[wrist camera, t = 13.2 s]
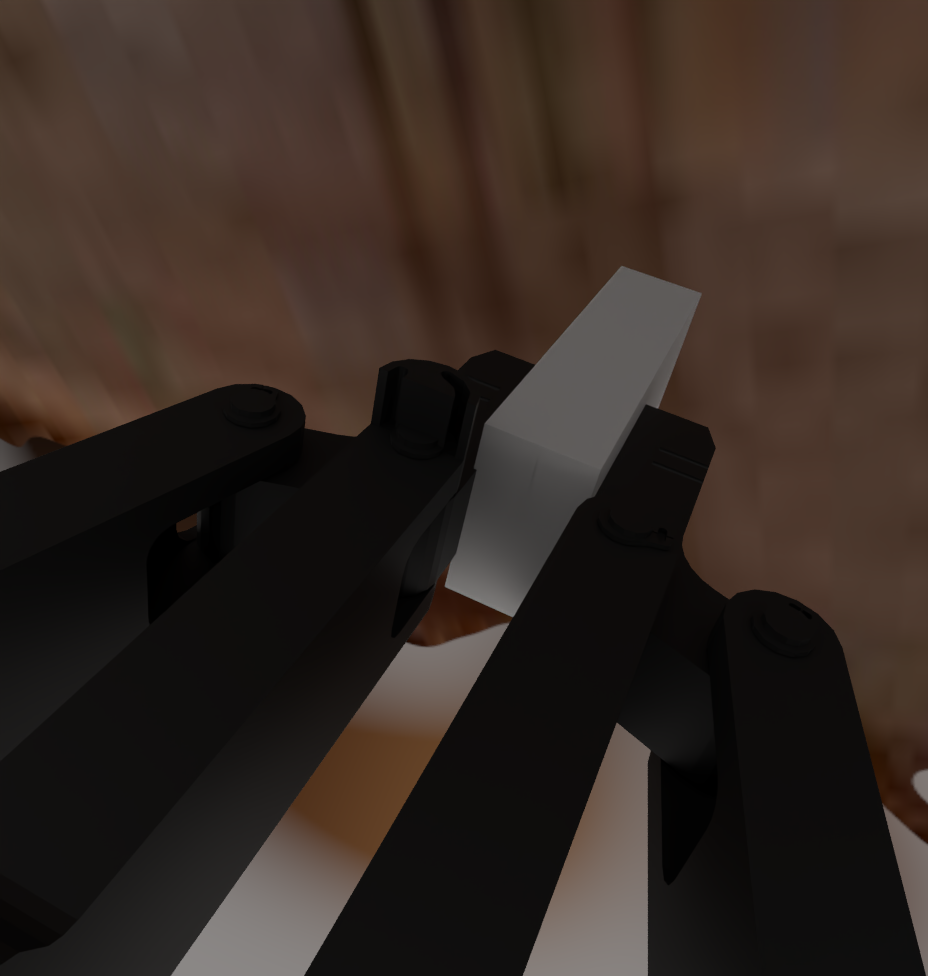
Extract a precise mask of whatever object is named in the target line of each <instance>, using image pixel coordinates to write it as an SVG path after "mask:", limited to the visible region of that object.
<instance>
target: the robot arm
mask: <svg viewBox="0 0 928 976" xmlns="http://www.w3.org/2000/svg"><path fill="white" fill-rule="evenodd" d="M701 294H702V293H699V292H696V291H693V290H690V289H687V288H684V287H682V286H679V285H676V284H673V283H670V282H667V281H664V280H661V279H658V278H655V277H652V276H650V275H647V274H644V273H641V272H638V271H635V270H632V269H629V268H626V267H623V266H621V267H620V268H619V270H618V271H617V272H616V273H615V274H614V275H613V276H612V278H611V279H610V280H609V281H608V282H607V283H606V285H605V286H604V287H603V288H602V289H601V290H600V291H599V293H598V294H597V295H596V296H595V297H594V298H593V299H592V301H591V302H590V303H589V304H588V305H587V306H586V308H585V309H584V310H583V311H582V312H581V313H580V314H579V316H578V317H577V318H576V319H575V320H574V321H573V322H572V324H571V325H570V326H569V327H568V328H567V329H566V331H565V332H564V333H563V334H562V335H561V336H560V337H559V339H558V340H557V341H556V342H555V343H554V344H553V345H552V347H551V348H550V349H549V350H548V351H547V352H546V354H545V355H544V356H543V357H542V358H541V359H540V360H539V362H538V363H537V364H536V365H534V364H531V363H529V362H526V361H524V360H521V359H518V358H516V357H513V356H510V355H508V354H505V353H502V352H500V351H497V350H494V351H490V352H487V353H484V354H481V355H478V356H474V357H471V358H470V359H469V360H468V361H467V362H466V363H465V364H464V365H463V366H462V367H461V368H460V369H459V370H456V369H454V368H452V367H450V366H447V365H443V364H439V363H436V362H432V361H426V360H414V359H408V360H401V361H393V362H391V363H389V364H387V365H384V366H382V367H380V368H379V374H378V381H377V387H376V394H375V401H374V407H373V414H372V420H371V424H370V425H369V426H368V427H367V428H366V429H364V430H363V431H362V432H361V433H360V434H359V435H358V436H357V437H352V436H344V435H336V434H331V433H326V432H321V431H316V430H311V429H305V418H306V415H305V412H304V410H303V407H302V405H301V404H300V403H299V402H298V401H297V400H296V399H295V398H294V397H293V396H291V395H290V394H287V393H285V392H283V391H281V390H278V389H276V388H273V387H269V386H263V385H259V384H234V385H230V386H226V387H222V388H217V389H215V390H212V391H210V392H207V393H204V394H202V395H199V396H197V397H194V398H191V399H189V400H186V401H184V402H181V403H178V404H176V405H173V406H170V407H168V408H165V409H163V410H160V411H157V412H155V413H152V414H150V415H147V416H144V417H142V418H139V419H137V420H134V421H131V422H129V423H126V424H124V425H121V426H118V427H116V428H113V429H111V430H108V431H105V432H103V433H100V434H98V435H95V436H92V437H90V438H87V439H85V440H82V441H79V442H77V443H74V444H72V445H69V446H66V447H64V448H61V449H59V450H56V451H53V452H51V453H48V454H46V455H43V456H40V457H38V458H35V459H33V460H30V461H27V462H25V463H22V464H20V465H17V466H14V467H12V468H9V469H7V470H4V471H1V472H0V976H171V974H172V973H173V971H174V970H175V969H176V967H177V966H178V964H179V963H180V961H181V960H182V959H183V957H184V956H185V954H186V953H187V952H188V950H189V949H190V947H191V946H192V944H193V943H194V942H195V940H196V939H197V937H198V936H199V935H200V933H201V932H202V930H203V929H204V927H205V926H206V925H207V923H208V922H209V920H210V919H211V917H212V916H213V915H214V913H215V912H216V910H217V909H218V908H219V906H220V905H221V903H222V902H223V901H224V899H225V898H226V896H227V895H228V893H229V892H230V891H231V889H232V888H233V886H234V885H235V883H236V882H237V881H238V879H239V878H240V876H241V875H242V874H243V872H244V871H245V869H246V868H247V866H248V865H249V864H250V862H251V861H252V859H253V858H254V856H255V855H256V854H257V852H258V851H259V849H260V848H261V847H262V845H263V844H264V842H265V841H266V840H267V838H268V837H269V835H270V834H271V832H272V831H273V830H274V828H275V827H276V825H277V824H278V823H279V821H280V820H281V818H282V817H283V815H284V814H285V812H286V811H287V810H288V808H289V807H290V805H291V804H292V803H293V801H294V799H295V798H296V797H297V796H298V794H299V793H300V791H301V790H302V788H303V787H304V786H305V784H306V783H307V781H308V780H309V779H310V777H311V776H312V774H313V773H314V771H315V770H316V768H317V767H318V766H319V764H320V763H321V762H322V760H323V759H324V757H325V756H326V754H327V753H328V752H329V750H330V749H331V747H332V746H333V745H334V743H335V742H336V740H337V739H338V737H339V736H340V734H341V733H342V732H343V730H344V729H345V727H346V726H347V725H348V723H349V722H350V720H351V719H352V718H353V716H354V715H355V713H356V712H357V711H358V709H359V708H360V706H361V705H362V703H363V702H364V700H365V699H366V698H367V696H368V695H369V693H370V692H371V691H372V689H373V688H374V686H375V685H376V684H377V682H378V681H379V679H380V678H381V676H382V675H383V674H384V672H385V671H386V669H387V668H388V667H389V665H390V663H391V662H392V661H393V659H394V658H395V657H396V655H397V654H398V652H399V651H400V650H401V648H402V647H403V645H404V644H405V642H406V641H407V640H408V638H409V637H410V635H411V634H412V633H413V631H414V630H415V628H416V627H417V625H418V624H419V623H420V621H421V620H422V618H423V617H424V616H425V614H426V613H427V611H428V610H429V607H430V604H431V602H432V599H433V595H434V591H435V587H436V582H437V579H438V578H439V576H440V575H441V574H442V572H443V571H444V570H445V568H446V567H447V566H448V564H449V563H450V561H451V563H450V568H449V572H448V576H447V580H446V584H445V587H447V588H449V589H451V590H454V591H456V592H458V593H460V594H462V595H465V596H467V597H469V598H471V599H474V600H476V601H478V602H480V603H482V604H485V605H487V606H489V607H491V608H494V609H496V610H498V611H500V612H503V613H505V614H507V615H509V616H511V617H513V618H512V620H511V622H510V623H509V625H508V627H507V629H506V630H505V632H504V634H503V635H502V637H501V639H500V641H499V642H498V644H497V646H496V648H495V649H494V651H493V653H492V654H491V656H490V658H489V660H488V661H487V663H486V665H485V667H484V668H483V670H482V672H481V673H480V675H479V677H478V678H477V680H476V682H475V684H474V685H473V687H472V689H471V690H470V692H469V694H468V696H467V698H466V699H465V701H464V702H463V704H462V706H461V708H460V709H459V711H458V713H457V715H456V716H455V718H454V720H453V721H452V723H451V725H450V727H449V728H448V730H447V732H446V733H445V735H444V737H443V738H442V740H441V742H440V744H439V745H438V747H437V749H436V750H435V752H434V754H433V756H432V757H431V759H430V761H429V763H428V764H427V766H426V768H425V769H424V771H423V773H422V774H421V776H420V778H419V780H418V781H417V784H416V785H415V787H414V788H413V790H412V792H411V793H410V795H409V797H408V799H407V800H406V802H405V804H404V805H403V807H402V809H401V811H400V813H399V814H398V816H397V817H396V819H395V821H394V823H393V824H392V826H391V828H390V829H389V831H388V833H387V835H386V836H385V838H384V840H383V842H382V843H381V845H380V847H379V848H378V850H377V852H376V854H375V855H374V857H373V859H372V860H371V862H370V864H369V866H368V867H367V869H366V871H365V872H364V874H363V876H362V877H361V879H360V881H359V883H358V884H357V886H356V888H355V889H354V891H353V893H352V895H351V896H350V898H349V900H348V902H347V903H346V905H345V907H344V909H343V910H342V912H341V913H340V915H339V917H338V919H337V920H336V922H335V924H334V926H333V927H332V929H331V931H330V932H329V934H328V936H327V938H326V939H325V941H324V943H323V945H322V946H321V948H320V950H319V951H318V953H317V955H316V956H315V958H314V960H313V961H312V963H311V965H310V967H309V968H308V970H307V972H306V974H305V975H304V976H523V973H524V971H525V968H526V965H527V962H528V960H529V957H530V954H531V951H532V949H533V946H534V943H535V941H536V938H537V936H538V933H539V930H540V928H541V925H542V922H543V919H544V917H545V914H546V911H547V909H548V906H549V903H550V900H551V898H552V895H553V893H554V890H555V887H556V884H557V882H558V879H559V876H560V874H561V871H562V868H563V866H564V863H565V860H566V857H567V855H568V852H569V849H570V847H571V844H572V841H573V839H574V836H575V833H576V830H577V828H578V825H579V822H580V819H581V817H582V814H583V811H584V809H585V806H586V803H587V801H588V798H589V795H590V793H591V790H592V787H593V785H594V782H595V779H596V776H597V774H598V771H599V768H600V766H601V763H602V760H603V758H604V755H605V752H606V749H607V747H608V744H609V742H610V739H611V736H612V734H613V731H614V728H615V725H616V723H618V724H620V725H621V726H622V727H623V728H624V729H626V730H627V731H628V732H629V733H631V734H632V735H633V736H634V737H636V738H637V739H638V740H639V741H640V742H642V743H643V744H644V745H645V746H647V747H648V748H649V749H650V750H651V753H650V756H649V760H648V976H926V974H925V970H924V966H923V962H922V958H921V954H920V950H919V946H918V942H917V939H916V935H915V931H914V927H913V923H912V919H911V915H910V911H909V907H908V903H907V899H906V896H905V892H904V887H903V884H902V880H901V876H900V872H899V868H898V864H897V860H896V856H895V852H894V848H893V844H892V841H891V837H890V833H889V829H888V825H887V821H886V817H885V813H884V809H883V805H882V801H881V797H880V793H879V789H878V786H877V782H876V778H875V774H874V770H873V766H872V762H871V758H870V754H869V750H868V746H867V742H866V738H865V735H864V731H863V727H862V723H861V719H860V715H859V711H858V707H857V703H856V699H855V695H854V691H853V687H852V684H851V680H850V676H849V672H848V668H847V664H846V660H845V656H844V652H843V648H842V646H841V644H840V642H839V640H838V638H837V636H836V634H835V632H834V630H833V629H832V628H831V627H830V626H829V625H828V624H827V623H826V622H825V621H824V620H823V619H822V618H821V617H820V616H819V615H818V614H817V613H816V612H814V611H813V610H811V609H810V608H808V607H806V606H805V605H803V604H802V603H800V602H799V601H797V600H794V599H792V598H789V597H787V596H784V595H781V594H779V593H776V592H770V591H762V590H750V591H745V592H740V593H737V594H736V595H734V596H733V597H732V598H731V599H730V600H729V599H728V598H726V597H725V596H723V595H722V594H720V593H719V592H717V591H716V590H714V589H713V588H712V587H711V586H709V585H708V584H707V583H706V582H704V581H703V580H702V579H701V578H700V577H699V576H698V575H697V574H696V573H695V571H694V570H693V569H692V568H691V567H690V565H689V563H688V561H687V560H686V558H685V556H684V552H683V548H682V541H683V535H684V533H685V530H686V527H687V524H688V522H689V519H690V516H691V514H692V511H693V508H694V505H695V503H696V500H697V497H698V495H699V492H700V489H701V487H702V483H703V481H704V478H705V476H706V473H707V470H708V467H709V465H710V462H711V460H712V457H713V454H714V451H715V449H716V448H715V445H714V442H713V440H712V437H711V434H710V431H709V429H708V427H705V426H702V425H700V424H697V423H694V422H692V421H689V420H687V419H684V418H681V417H679V416H676V415H673V414H671V413H668V412H665V411H663V410H660V409H658V407H659V405H660V402H661V399H662V397H663V394H664V392H665V389H666V386H667V384H668V381H669V378H670V376H671V373H672V371H673V368H674V365H675V363H676V360H677V357H678V355H679V352H680V350H681V347H682V344H683V342H684V339H685V336H686V334H687V331H688V328H689V326H690V323H691V321H692V318H693V315H694V313H695V310H696V307H697V305H698V302H699V300H700V297H701ZM195 513H197V525H196V526H194V527H192V528H190V529H188V530H186V531H182V532H178V533H177V530H176V523H177V522H179V521H181V520H183V519H185V518H187V517H189V516H191V515H193V514H195Z"/></svg>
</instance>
